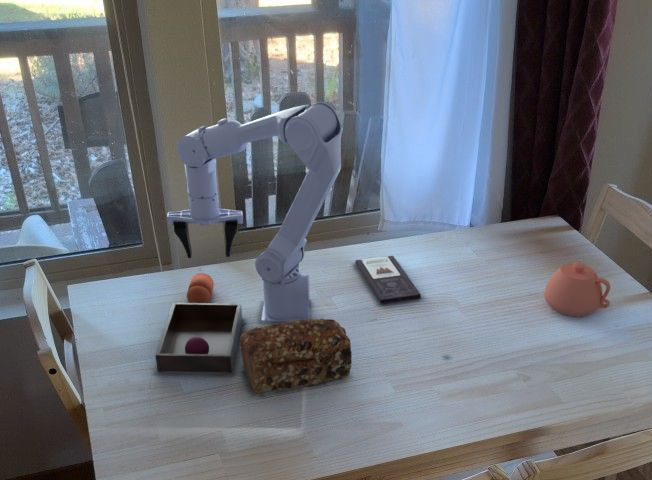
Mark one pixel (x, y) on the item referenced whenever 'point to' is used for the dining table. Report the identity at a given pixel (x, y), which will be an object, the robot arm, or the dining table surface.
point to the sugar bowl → (576, 290)
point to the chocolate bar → (387, 279)
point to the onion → (197, 346)
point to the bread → (295, 354)
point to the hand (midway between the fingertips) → (209, 255)
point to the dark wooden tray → (200, 321)
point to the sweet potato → (200, 289)
